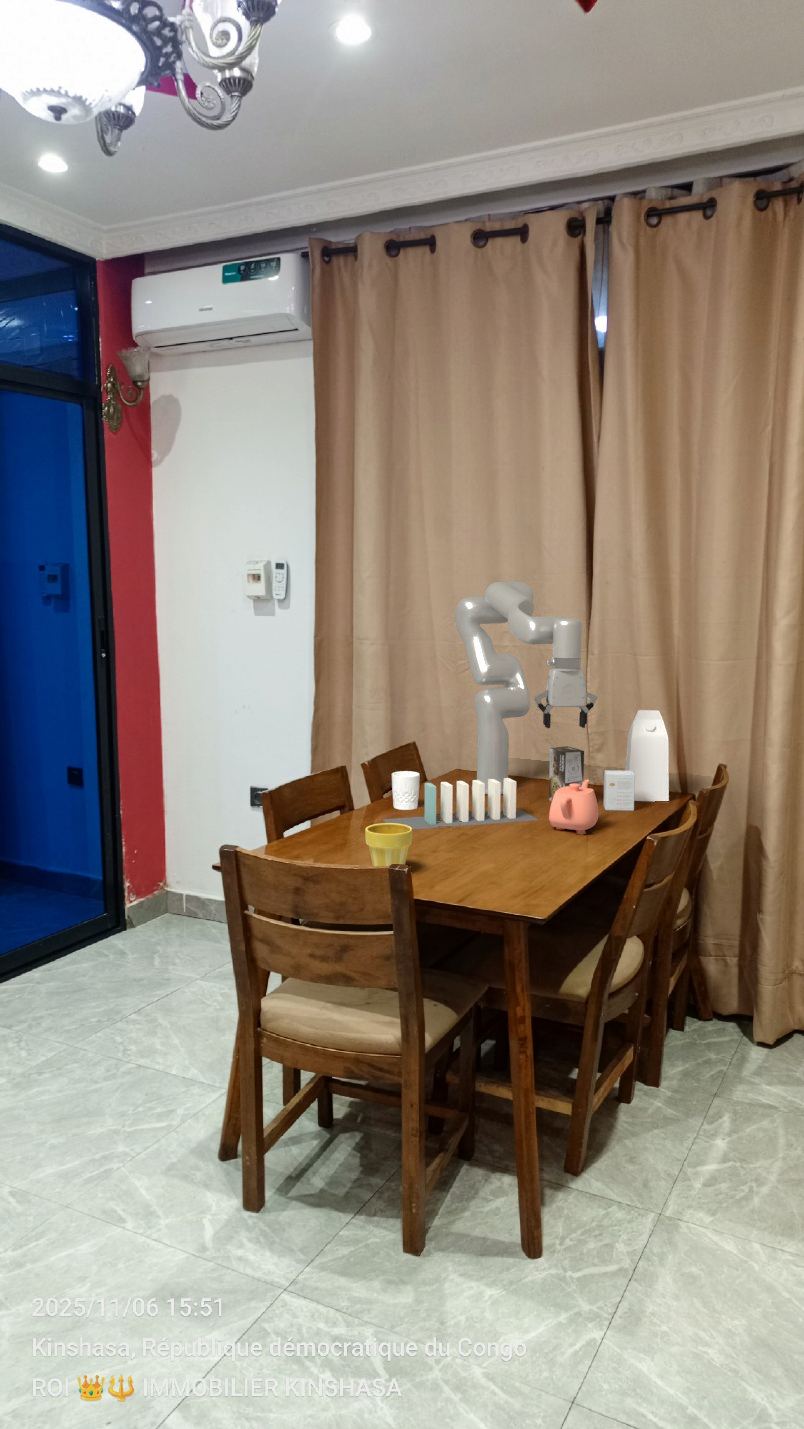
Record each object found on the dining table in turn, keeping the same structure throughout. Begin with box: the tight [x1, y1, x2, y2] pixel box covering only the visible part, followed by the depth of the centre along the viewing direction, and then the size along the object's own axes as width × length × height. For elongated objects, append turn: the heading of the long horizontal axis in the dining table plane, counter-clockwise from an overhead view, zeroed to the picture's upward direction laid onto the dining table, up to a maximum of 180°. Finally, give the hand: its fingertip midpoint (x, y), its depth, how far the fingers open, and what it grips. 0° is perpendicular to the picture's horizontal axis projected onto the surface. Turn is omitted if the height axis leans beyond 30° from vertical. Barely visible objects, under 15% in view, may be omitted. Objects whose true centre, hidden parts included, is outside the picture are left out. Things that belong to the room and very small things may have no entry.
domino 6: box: [502, 777, 517, 819], centre depth 260 cm, size 5×2×10 cm, turn 16°
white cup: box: [391, 770, 421, 811], centre depth 270 cm, size 8×8×10 cm
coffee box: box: [548, 746, 585, 802], centre depth 276 cm, size 9×6×16 cm
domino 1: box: [424, 782, 437, 824], centre depth 253 cm, size 5×2×10 cm, turn 16°
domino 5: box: [487, 779, 501, 820], centre depth 258 cm, size 5×2×10 cm, turn 16°
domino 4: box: [471, 779, 486, 821], centre depth 257 cm, size 5×2×10 cm, turn 16°
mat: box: [382, 809, 539, 830], centre depth 256 cm, size 12×40×1 cm, turn 106°
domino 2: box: [440, 781, 454, 823], centre depth 255 cm, size 5×2×10 cm, turn 16°
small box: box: [603, 769, 635, 812], centre depth 271 cm, size 8×6×10 cm
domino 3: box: [455, 780, 470, 822], centre depth 256 cm, size 5×2×10 cm, turn 16°
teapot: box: [548, 778, 599, 835], centre depth 249 cm, size 20×12×12 cm, turn 152°
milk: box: [624, 709, 670, 802], centre depth 284 cm, size 12×12×26 cm
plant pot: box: [364, 822, 413, 867], centre depth 212 cm, size 10×10×10 cm
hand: (564, 727), depth 261 cm, fingers open, 9 cm apart
